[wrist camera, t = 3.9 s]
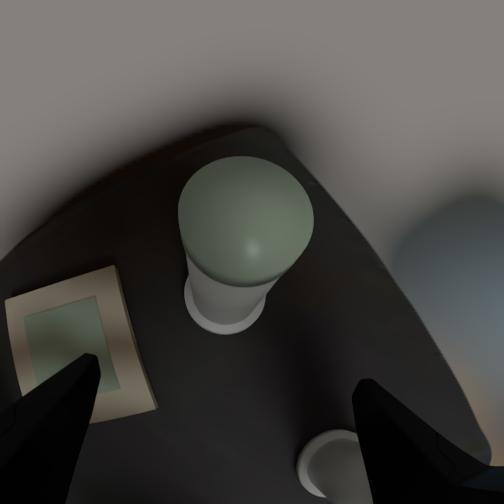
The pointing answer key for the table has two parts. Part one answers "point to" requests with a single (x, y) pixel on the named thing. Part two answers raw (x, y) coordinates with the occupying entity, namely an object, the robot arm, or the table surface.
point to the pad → (81, 340)
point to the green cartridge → (239, 238)
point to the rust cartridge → (334, 468)
